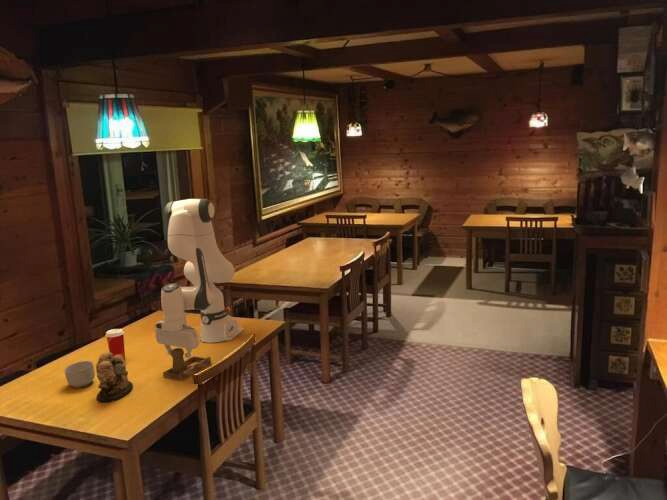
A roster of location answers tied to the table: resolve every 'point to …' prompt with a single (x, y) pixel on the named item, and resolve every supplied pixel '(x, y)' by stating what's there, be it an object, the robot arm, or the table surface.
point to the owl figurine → (112, 378)
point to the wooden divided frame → (188, 368)
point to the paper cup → (116, 342)
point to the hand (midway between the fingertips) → (179, 355)
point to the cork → (178, 360)
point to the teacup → (80, 373)
